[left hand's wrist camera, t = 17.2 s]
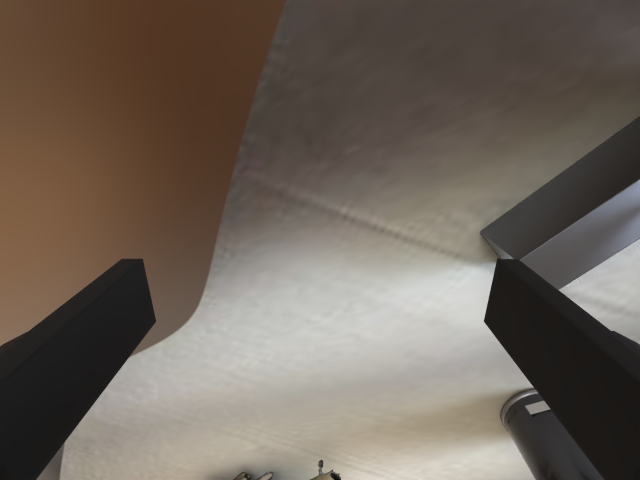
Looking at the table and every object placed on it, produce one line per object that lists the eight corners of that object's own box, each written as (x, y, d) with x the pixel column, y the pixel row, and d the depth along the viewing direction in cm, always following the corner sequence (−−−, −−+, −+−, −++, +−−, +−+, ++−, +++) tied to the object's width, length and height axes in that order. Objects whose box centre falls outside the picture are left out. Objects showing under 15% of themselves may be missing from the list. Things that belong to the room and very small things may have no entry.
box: (705, 68, 35) (820, 57, 27) (723, 112, 37) (837, 114, 29) (479, 231, 42) (517, 261, 34) (503, 263, 43) (545, 298, 35)
